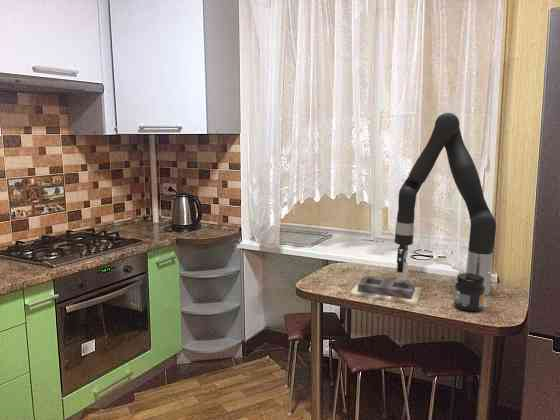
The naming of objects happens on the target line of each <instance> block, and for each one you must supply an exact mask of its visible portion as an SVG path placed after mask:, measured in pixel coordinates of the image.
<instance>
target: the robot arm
mask: <svg viewBox="0 0 560 420" xmlns="http://www.w3.org/2000/svg"><path fill="white" fill-rule="evenodd" d="M461 132H462V131H461V127H460V120H459V117H457V115H455V114H454V113H451V112H444V113H442V114H440V115H438V117H437V118H436V120H435V121H434V127H433V130H432V133H431V135H430V138H429V139H428V141H427V144H426V145H425V147H424V148H423V150H422V152H421V153H420V155H419V156H418V157H417V160H416V161H415V163H414V164H413V166H412V168H411V170H410V171H409V174H408V177H407V178H406V179H405V181H404V182H403V184H402V186H401V187H400V189H399V191H398V201H397V202H398V207H397V215H396V224H395V230H394V232H395V233H394V243H395V244H397V245H399V246H398V247H397V255H396V264H398V267H397V266H396V273H397V272H400V273H402V272H403V264H404V262H406V263H407V258H408V254H409V246H411V245H413V243H414V234H415V232H414V231H415V215H416V214H415V213H416V212H415V207H416V201H417V195H418V192H419V190H420V189H421V187H422V185H423V184H424V183H425V182H426V180H427V178H428V177H429V175H430V173H431V171H432V170H433V168H434V166H435V164H436V162H437V160H438V158H439V156H440V154H441V152H442V150H443V149H445V153H446V157H447V161H448V165H449V168H450V172H451V175H452V179H453V180H454V183H455V185H456V188H457V190H458V192H459V195H460V196H461V197H462V199H463V200H464V203H465V205H466V209H467V212H468V215H469V221H470V230H469V239H468V240H469V241H468V246H467V247H468V250H467V261H466V269H465V270H466V272H465V273H472V274H477V275H480V276H482V277H484V279H485V281H484V284H483V285H484V286H485V292H484V296H488V297H489V296H490V288H491V279H492V266H493V265H492V263H493V253H494V248H495V239H496V231H497V222H496V219H495V217H494V215H493V213H492V212H491V210H490V208H489V206H488V204H487V202H486V199H485V197H484V193H483V192H484V191H483V187H482V181H481V179H480V175H479V172H478V170H477V167H476V164H475V163H474V160H473V158H472V157H471V154H470V152H469V150H468V149H467V147H466V145H465V142H464V140H463V135H462V133H461Z"/></svg>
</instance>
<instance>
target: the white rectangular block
mask: <svg viewBox="0 0 560 420" xmlns="http://www.w3.org/2000/svg"><path fill="white" fill-rule="evenodd" d="M397 267H398V263H396V268H397ZM408 267H409V262H407V261H406V262H404V264H403V272H402V273H400V272H397V271H396V276H395V277H396V278H395V280H401V281H408Z"/></svg>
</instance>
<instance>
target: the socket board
mask: <svg viewBox="0 0 560 420" xmlns="http://www.w3.org/2000/svg"><path fill="white" fill-rule="evenodd" d="M357 281H358V282H356V283H355V285H354V286H353V288H352V289H351V291H350V292H349V296H352V297H359V298H364V299H372V300H378V301H385V302H390V303H391V302H392V303H400V304H405V305H413V306H418V304H419V300H420V297H421V295H422V290H423V288H422V287H419V286H416V281H415V282H414V281H408V280H407V281H401V280H396V279H393V278H386V277H378V276H369V275H364V276H363V277H362V278H361V279H358V280H357Z"/></svg>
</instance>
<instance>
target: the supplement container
mask: <svg viewBox="0 0 560 420" xmlns="http://www.w3.org/2000/svg"><path fill="white" fill-rule="evenodd" d="M484 281H485V279H484V277H482V276H480V275H477V274H472V273H466V272H462V273H458V274H457V276H456V282H455V283H454V295H453V297H454V298H453V305H454V307H456V308H457V309H458V308H459V310H461V311H464V310H466V311H465V312H469V311H477V312H480V311H482V310H483V308H484V300H485V295H484V292H485V286H484V285H483V284H484Z"/></svg>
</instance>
